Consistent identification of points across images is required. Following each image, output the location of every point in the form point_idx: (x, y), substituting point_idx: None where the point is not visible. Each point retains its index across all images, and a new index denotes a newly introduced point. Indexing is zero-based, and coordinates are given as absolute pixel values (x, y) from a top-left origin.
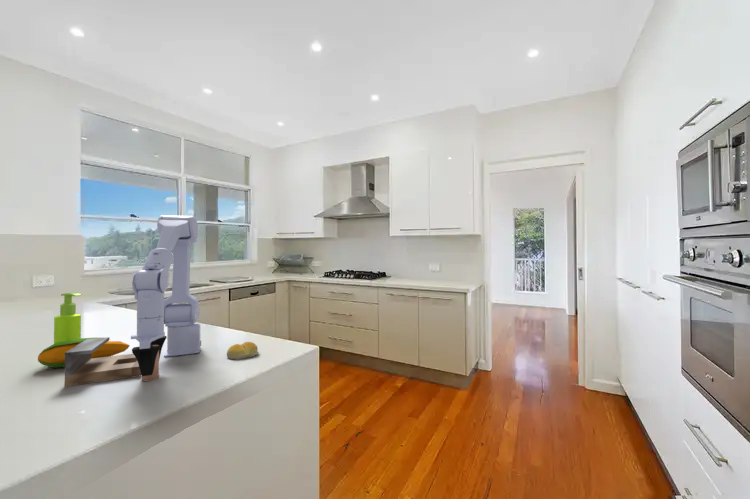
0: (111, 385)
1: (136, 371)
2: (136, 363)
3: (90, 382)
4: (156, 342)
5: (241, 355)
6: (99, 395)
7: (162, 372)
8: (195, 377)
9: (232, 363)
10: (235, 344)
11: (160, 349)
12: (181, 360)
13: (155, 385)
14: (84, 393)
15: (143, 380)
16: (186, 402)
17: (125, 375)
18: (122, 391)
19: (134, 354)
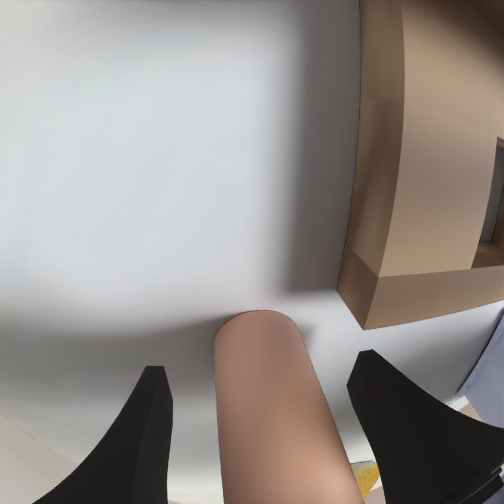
0: (227, 151)
1: (355, 286)
2: (444, 282)
3: (360, 20)
4: (410, 501)
5: None
6: (55, 144)
7: (326, 368)
8: (182, 451)
9: None
10: (361, 494)
11: (380, 469)
12: (433, 377)
13: (127, 375)
14: (137, 30)
15: (223, 326)
16: (6, 413)
17: (359, 215)
18: (77, 255)
19: (43, 499)
